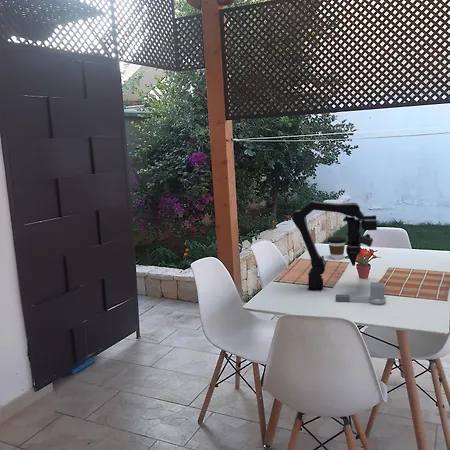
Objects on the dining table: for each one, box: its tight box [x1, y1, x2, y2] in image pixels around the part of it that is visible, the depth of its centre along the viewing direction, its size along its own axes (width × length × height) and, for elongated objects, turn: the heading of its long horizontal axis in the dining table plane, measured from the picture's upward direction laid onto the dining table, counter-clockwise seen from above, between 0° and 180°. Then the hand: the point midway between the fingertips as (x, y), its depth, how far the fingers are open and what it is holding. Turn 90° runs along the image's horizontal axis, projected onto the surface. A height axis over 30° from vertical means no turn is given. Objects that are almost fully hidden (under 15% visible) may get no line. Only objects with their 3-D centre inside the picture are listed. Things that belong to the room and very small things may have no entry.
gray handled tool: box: [335, 293, 387, 306], centre depth 204 cm, size 21×7×6 cm, turn 74°
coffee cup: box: [327, 236, 347, 261], centre depth 278 cm, size 11×11×12 cm
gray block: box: [369, 281, 385, 300], centre depth 202 cm, size 6×6×6 cm
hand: (353, 263), depth 218 cm, fingers open, 9 cm apart
